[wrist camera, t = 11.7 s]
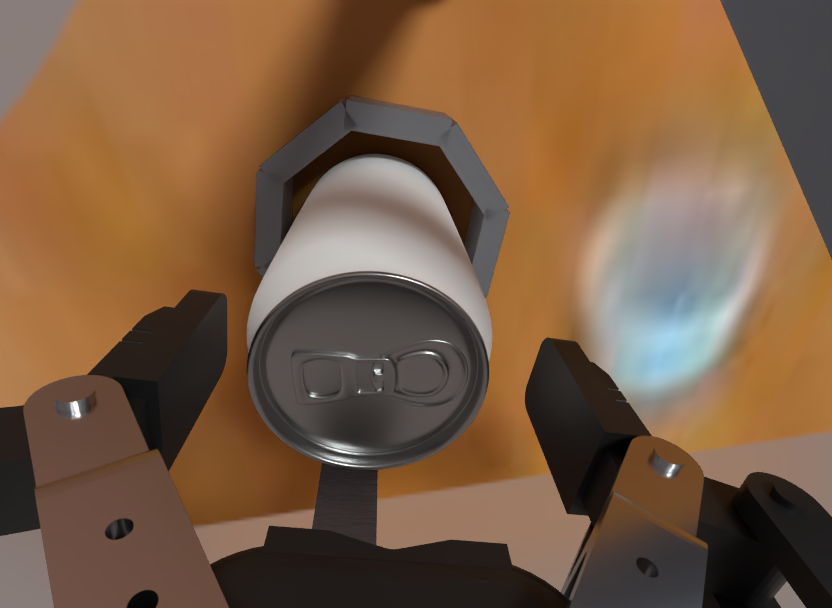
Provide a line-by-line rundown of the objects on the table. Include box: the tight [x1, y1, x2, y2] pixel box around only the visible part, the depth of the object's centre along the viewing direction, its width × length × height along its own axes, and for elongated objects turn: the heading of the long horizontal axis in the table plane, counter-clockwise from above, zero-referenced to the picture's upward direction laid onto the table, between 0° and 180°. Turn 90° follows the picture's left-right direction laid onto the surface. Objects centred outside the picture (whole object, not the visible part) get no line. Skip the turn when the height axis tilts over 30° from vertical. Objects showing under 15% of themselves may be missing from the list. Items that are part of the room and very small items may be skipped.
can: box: [247, 154, 492, 470], centre depth 16 cm, size 6×6×12 cm
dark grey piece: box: [312, 463, 377, 545], centre depth 18 cm, size 6×8×18 cm
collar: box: [254, 96, 510, 298], centre depth 20 cm, size 10×10×2 cm
